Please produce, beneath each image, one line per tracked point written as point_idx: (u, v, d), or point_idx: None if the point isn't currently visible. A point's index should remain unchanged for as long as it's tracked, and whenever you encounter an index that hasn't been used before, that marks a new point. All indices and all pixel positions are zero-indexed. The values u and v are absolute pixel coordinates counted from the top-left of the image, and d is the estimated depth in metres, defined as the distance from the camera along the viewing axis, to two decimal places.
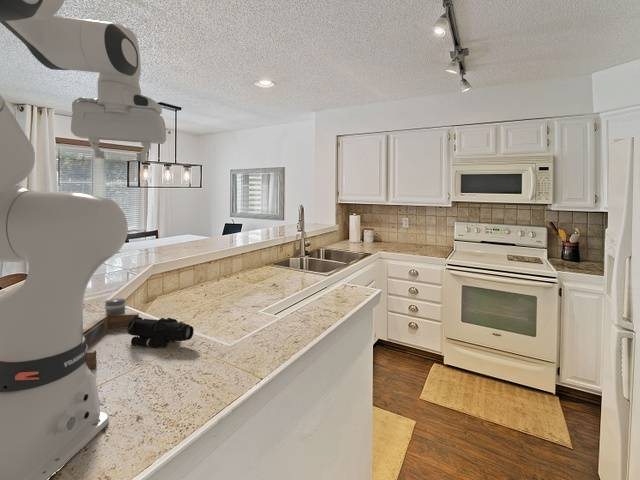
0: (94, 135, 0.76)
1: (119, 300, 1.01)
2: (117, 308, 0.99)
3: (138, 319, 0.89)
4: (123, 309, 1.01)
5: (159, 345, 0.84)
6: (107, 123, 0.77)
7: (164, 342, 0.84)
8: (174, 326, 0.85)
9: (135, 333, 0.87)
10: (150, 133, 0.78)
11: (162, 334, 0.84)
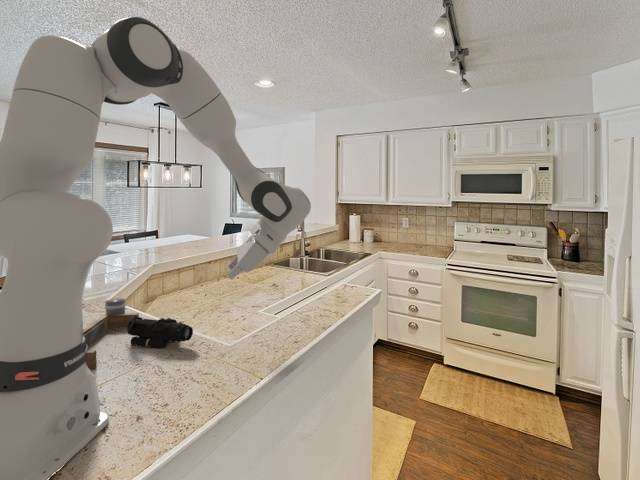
0: (237, 252, 0.95)
1: (119, 300, 1.01)
2: (117, 308, 0.99)
3: (138, 319, 0.89)
4: (123, 309, 1.01)
5: (158, 345, 0.84)
6: (245, 246, 0.92)
7: (163, 342, 0.84)
8: (173, 326, 0.84)
9: (135, 333, 0.87)
10: (241, 257, 0.83)
11: (161, 335, 0.84)
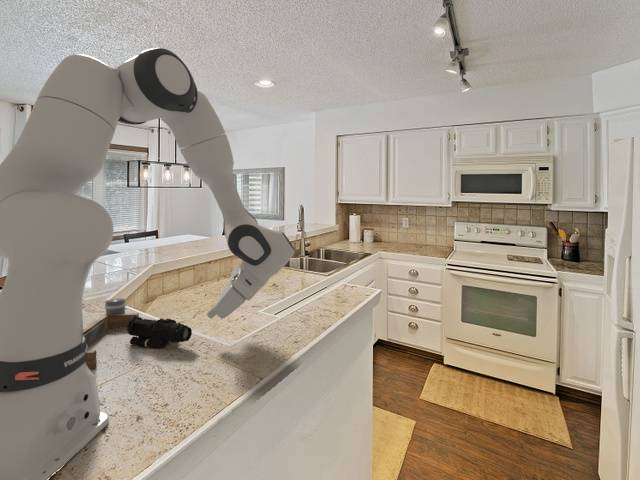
0: None
1: (119, 300, 1.01)
2: (117, 308, 0.99)
3: (138, 319, 0.89)
4: (123, 309, 1.01)
5: (157, 346, 0.84)
6: (227, 288, 0.91)
7: (161, 343, 0.84)
8: (172, 327, 0.84)
9: (134, 333, 0.86)
10: None
11: (160, 335, 0.84)
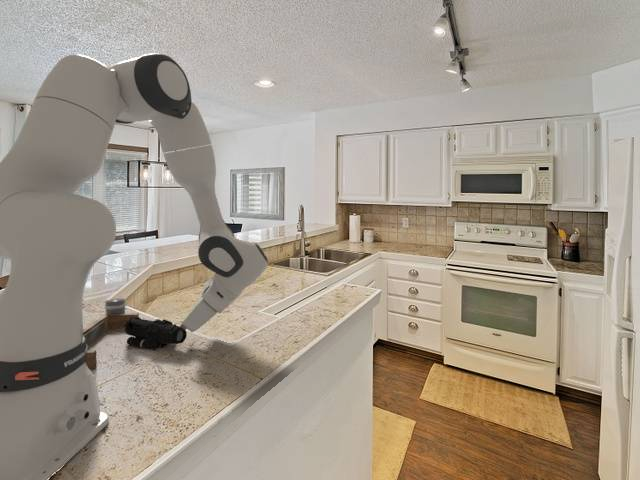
0: (195, 304, 0.93)
1: (119, 300, 1.01)
2: (117, 308, 0.99)
3: (136, 319, 0.88)
4: (123, 309, 1.01)
5: (151, 347, 0.83)
6: None
7: (156, 344, 0.83)
8: (166, 328, 0.83)
9: (131, 333, 0.86)
10: None
11: (154, 336, 0.83)
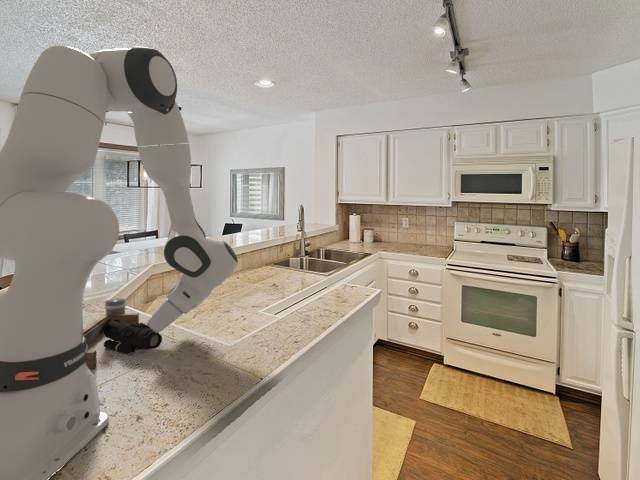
0: None
1: (119, 300, 1.01)
2: (117, 308, 0.99)
3: (115, 322, 0.86)
4: (123, 309, 1.01)
5: (126, 351, 0.80)
6: None
7: (130, 349, 0.80)
8: (141, 332, 0.80)
9: (109, 336, 0.84)
10: None
11: (129, 340, 0.80)
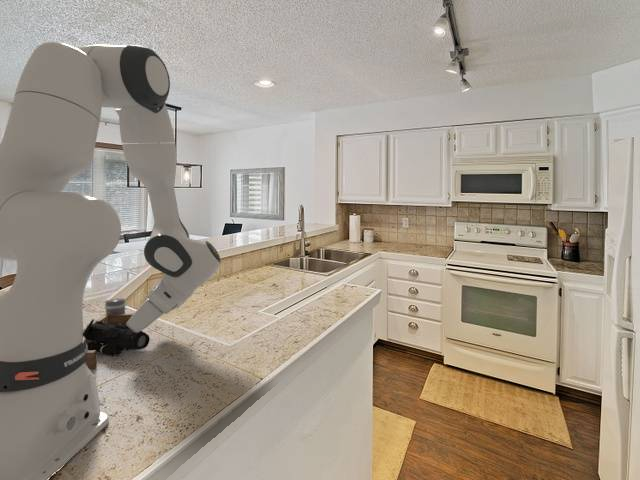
0: None
1: (119, 300, 1.01)
2: (117, 308, 0.99)
3: (97, 323, 0.84)
4: (123, 309, 1.01)
5: (112, 353, 0.79)
6: None
7: (116, 350, 0.79)
8: (127, 333, 0.79)
9: (92, 338, 0.82)
10: None
11: (115, 341, 0.79)
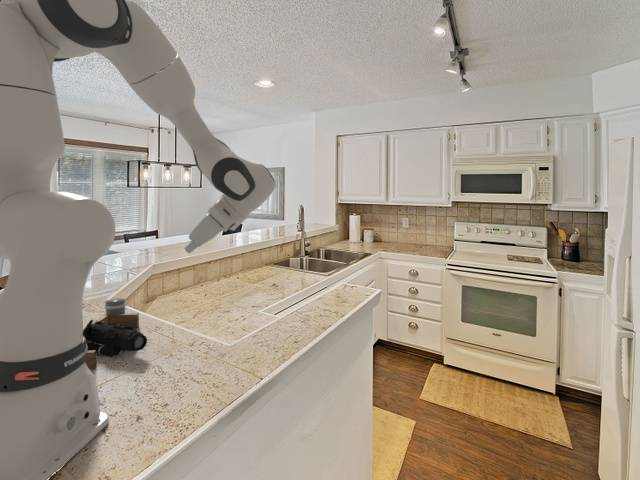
0: None
1: (119, 300, 1.01)
2: (117, 308, 0.99)
3: (96, 324, 0.84)
4: (123, 309, 1.01)
5: (109, 354, 0.78)
6: None
7: (114, 351, 0.78)
8: (125, 334, 0.78)
9: (91, 339, 0.82)
10: None
11: (112, 342, 0.78)
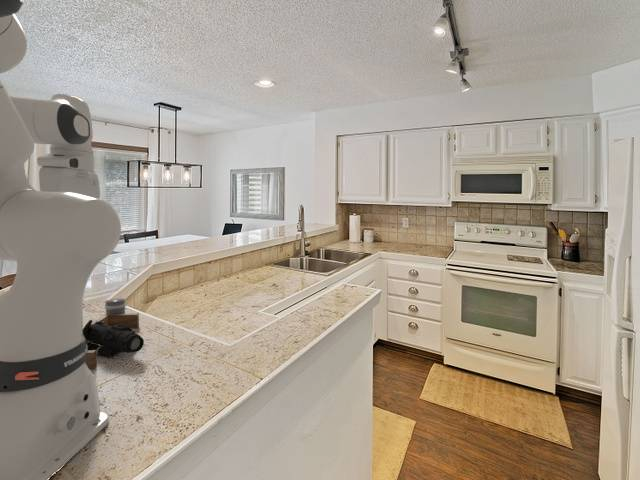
0: None
1: (119, 300, 1.01)
2: (117, 308, 0.99)
3: (96, 324, 0.84)
4: (123, 309, 1.01)
5: (106, 355, 0.78)
6: None
7: (111, 352, 0.78)
8: (121, 336, 0.78)
9: (90, 339, 0.82)
10: None
11: (109, 343, 0.78)
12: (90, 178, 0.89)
